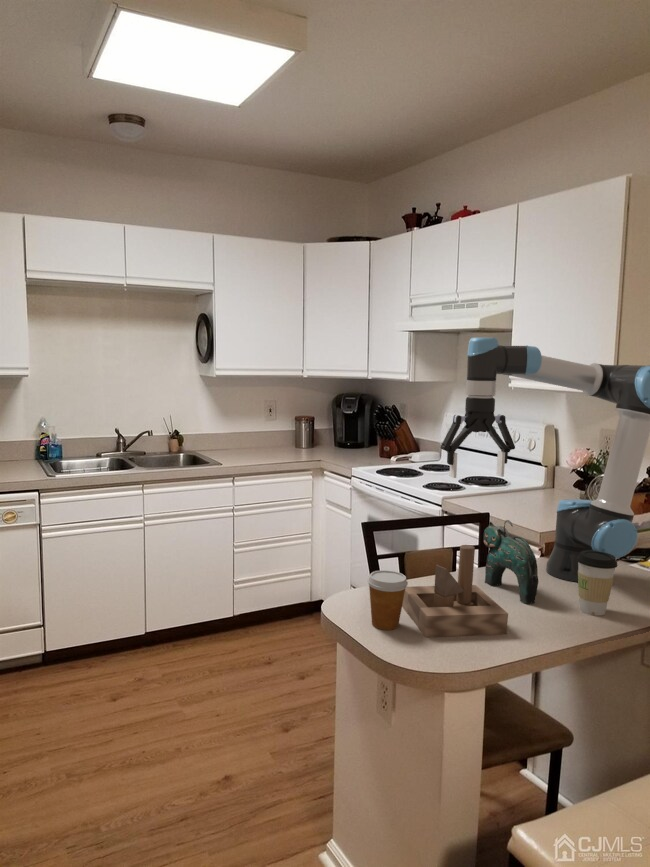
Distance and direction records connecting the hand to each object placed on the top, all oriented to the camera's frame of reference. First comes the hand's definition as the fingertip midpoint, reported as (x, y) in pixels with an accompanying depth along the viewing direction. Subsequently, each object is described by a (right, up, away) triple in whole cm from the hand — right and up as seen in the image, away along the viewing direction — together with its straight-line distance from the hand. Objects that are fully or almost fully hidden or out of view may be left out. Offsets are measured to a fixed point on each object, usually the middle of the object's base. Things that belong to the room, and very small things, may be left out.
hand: (476, 476), depth 176 cm
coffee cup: (+29, -35, -4) cm, 46 cm away
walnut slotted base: (-9, -34, -13) cm, 38 cm away
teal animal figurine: (+11, -33, +8) cm, 35 cm away
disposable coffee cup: (-26, -34, -18) cm, 47 cm away
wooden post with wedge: (-9, -35, -13) cm, 38 cm away
